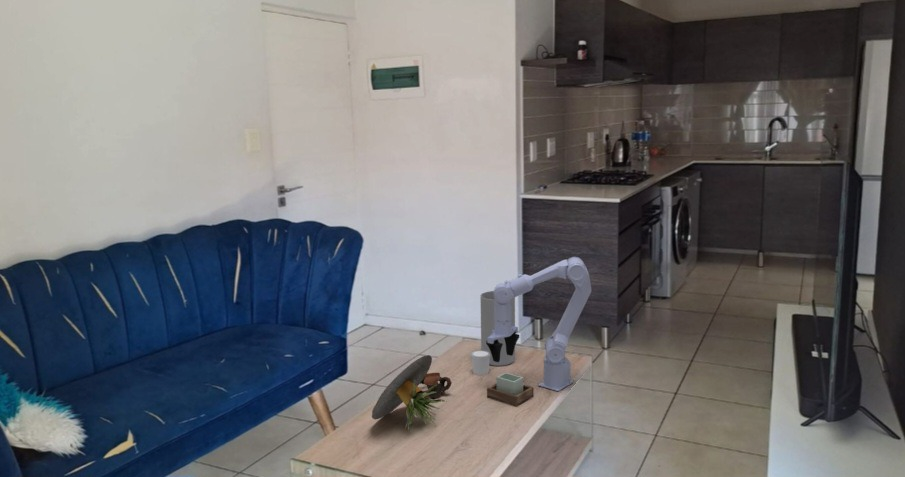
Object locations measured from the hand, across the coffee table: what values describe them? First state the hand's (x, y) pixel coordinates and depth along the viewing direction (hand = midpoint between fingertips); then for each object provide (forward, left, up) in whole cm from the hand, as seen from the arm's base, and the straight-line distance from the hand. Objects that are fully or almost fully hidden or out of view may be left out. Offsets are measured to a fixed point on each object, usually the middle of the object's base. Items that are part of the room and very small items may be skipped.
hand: (503, 358), depth 237 cm
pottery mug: (+20, -14, -10) cm, 26 cm away
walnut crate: (+7, +8, -9) cm, 14 cm away
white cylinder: (-4, -13, -10) cm, 17 cm away
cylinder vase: (-17, -15, -10) cm, 25 cm away
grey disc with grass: (+40, -5, -10) cm, 42 cm away
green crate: (+7, +8, -9) cm, 14 cm away
